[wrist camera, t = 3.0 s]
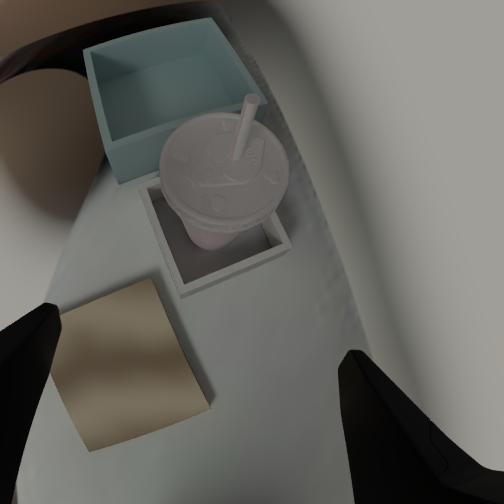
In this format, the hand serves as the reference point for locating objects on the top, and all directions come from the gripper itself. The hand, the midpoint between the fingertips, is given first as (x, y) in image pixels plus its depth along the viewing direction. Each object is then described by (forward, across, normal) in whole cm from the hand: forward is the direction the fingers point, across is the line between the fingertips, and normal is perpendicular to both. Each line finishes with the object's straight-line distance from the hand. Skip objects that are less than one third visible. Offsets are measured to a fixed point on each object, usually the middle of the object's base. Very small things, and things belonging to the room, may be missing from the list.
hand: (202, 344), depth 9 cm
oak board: (+7, +5, +12) cm, 15 cm away
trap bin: (+23, +6, -4) cm, 24 cm away
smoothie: (+15, 0, +4) cm, 16 cm away
